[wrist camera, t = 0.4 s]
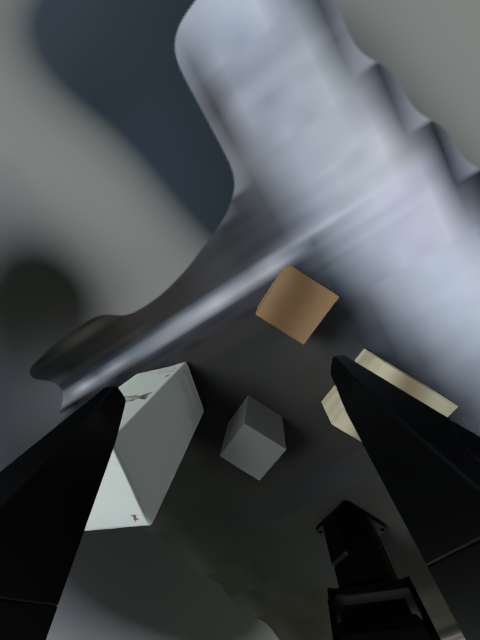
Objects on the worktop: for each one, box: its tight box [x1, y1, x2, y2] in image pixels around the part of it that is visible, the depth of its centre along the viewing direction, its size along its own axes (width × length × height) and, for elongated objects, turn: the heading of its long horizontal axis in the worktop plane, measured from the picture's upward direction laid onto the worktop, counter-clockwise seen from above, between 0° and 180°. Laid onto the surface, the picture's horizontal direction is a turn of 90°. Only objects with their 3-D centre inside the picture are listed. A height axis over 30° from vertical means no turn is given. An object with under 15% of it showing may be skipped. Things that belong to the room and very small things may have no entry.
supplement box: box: [84, 362, 204, 531], centre depth 20 cm, size 7×7×13 cm
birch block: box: [322, 349, 458, 442], centre depth 21 cm, size 8×8×4 cm
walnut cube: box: [256, 264, 339, 345], centre depth 19 cm, size 5×5×5 cm
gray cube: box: [220, 395, 286, 481], centre depth 23 cm, size 5×5×5 cm
